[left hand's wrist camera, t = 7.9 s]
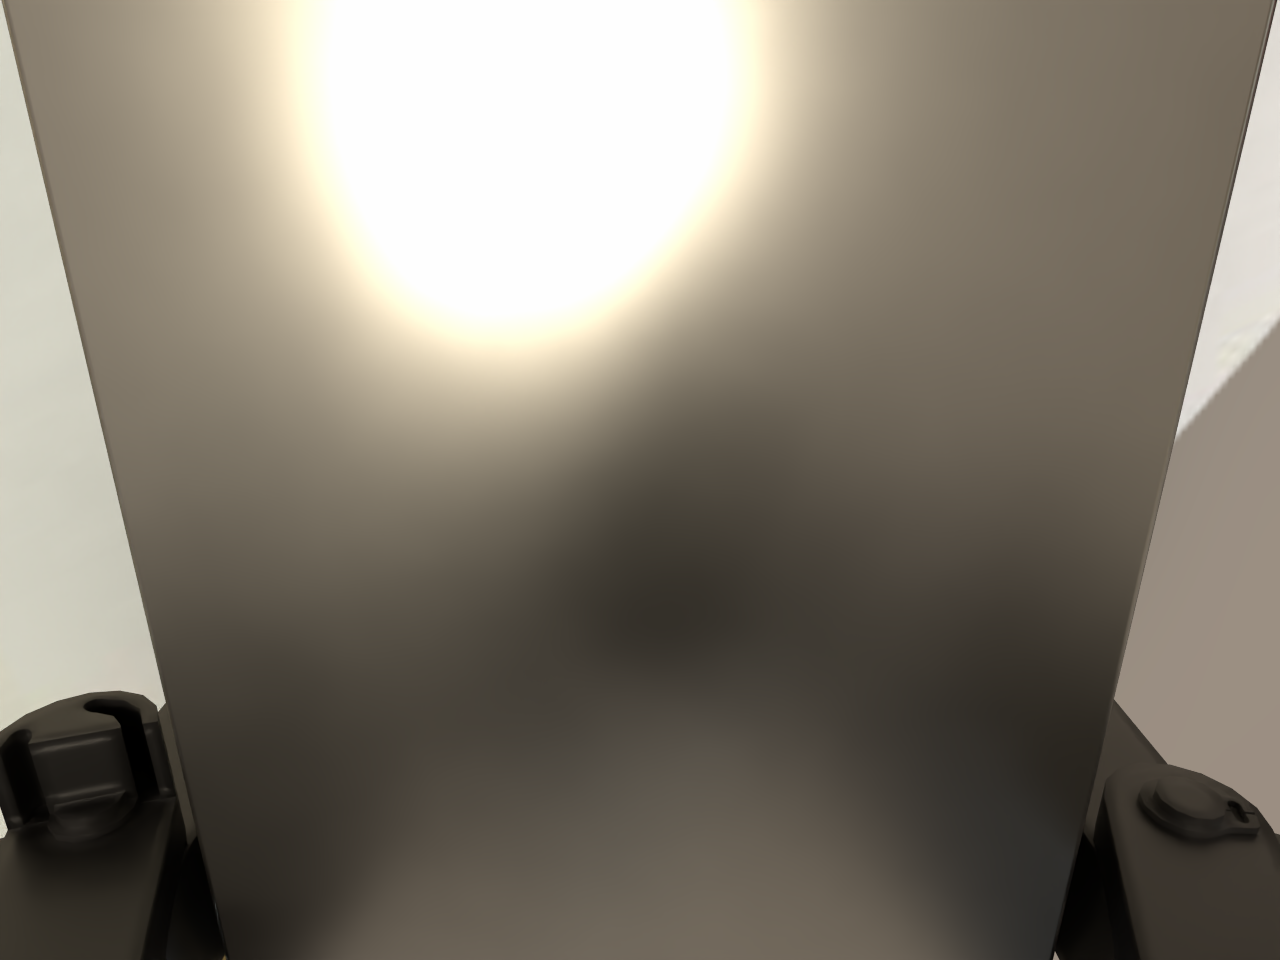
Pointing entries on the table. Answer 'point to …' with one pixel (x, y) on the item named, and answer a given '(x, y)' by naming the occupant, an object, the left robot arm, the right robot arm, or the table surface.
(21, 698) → the table surface
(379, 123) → the box
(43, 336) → the table surface
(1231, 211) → the table surface
